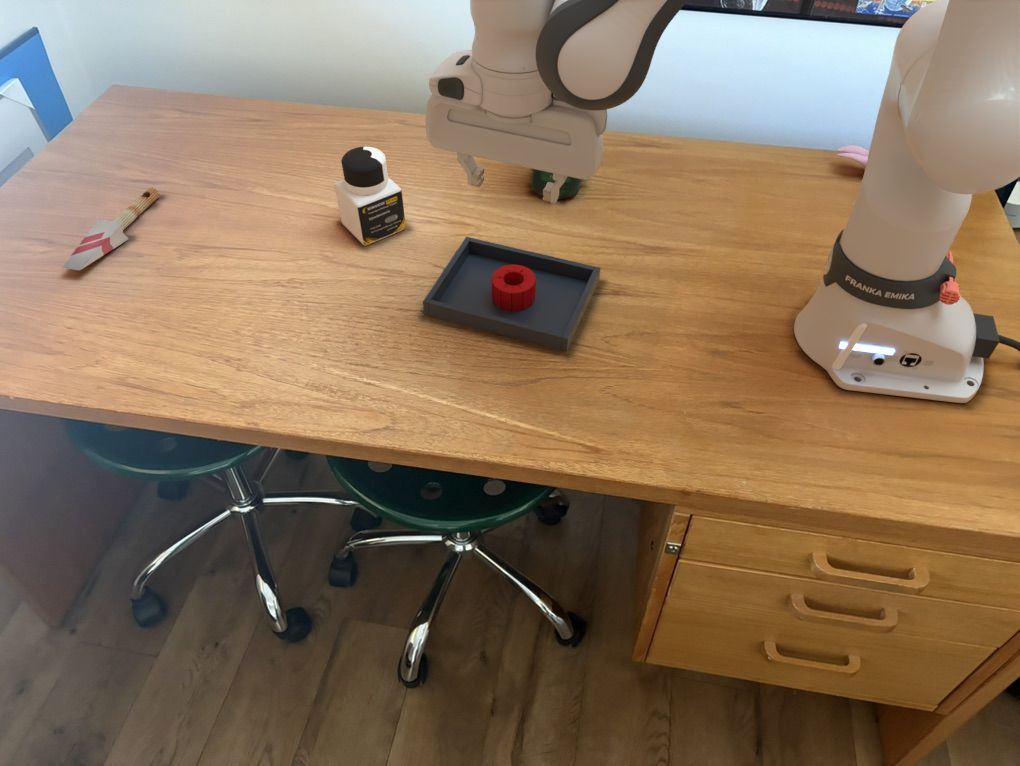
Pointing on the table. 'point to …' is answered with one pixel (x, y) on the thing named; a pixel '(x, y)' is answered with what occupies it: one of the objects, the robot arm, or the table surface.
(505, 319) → the tray
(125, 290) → the table surface
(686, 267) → the table surface
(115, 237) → the garden trowel
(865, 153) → the rabbit figure
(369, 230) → the medicine bottle
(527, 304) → the ring
